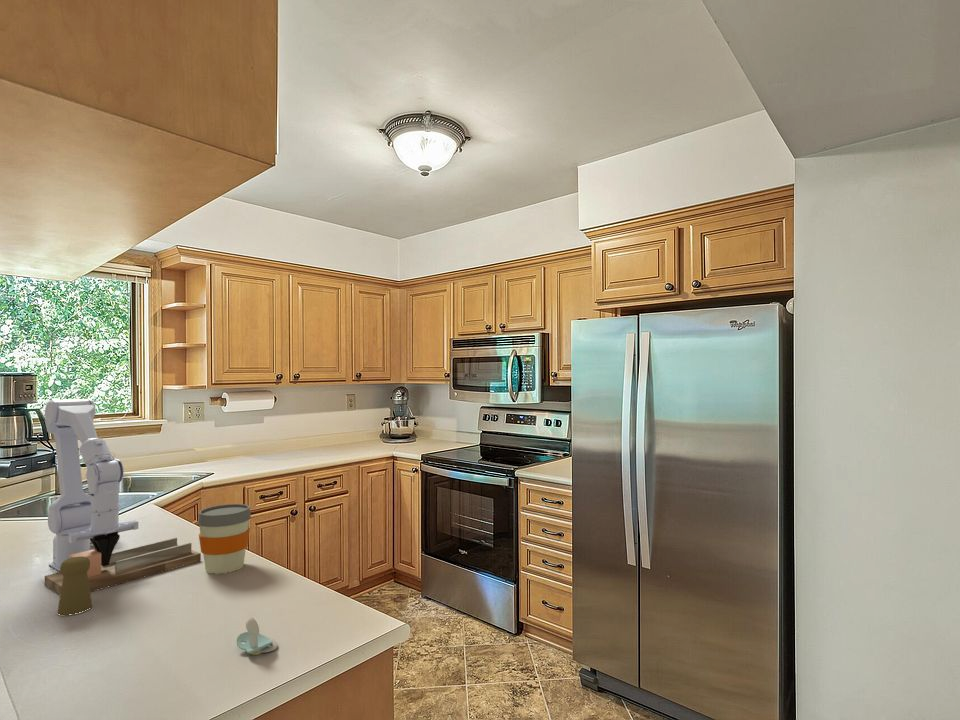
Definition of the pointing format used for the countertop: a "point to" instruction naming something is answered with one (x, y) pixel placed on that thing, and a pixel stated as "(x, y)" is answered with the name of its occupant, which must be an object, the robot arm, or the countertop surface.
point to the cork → (75, 586)
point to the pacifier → (255, 639)
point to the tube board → (136, 564)
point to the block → (91, 561)
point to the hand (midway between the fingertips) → (104, 564)
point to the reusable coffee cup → (224, 536)
